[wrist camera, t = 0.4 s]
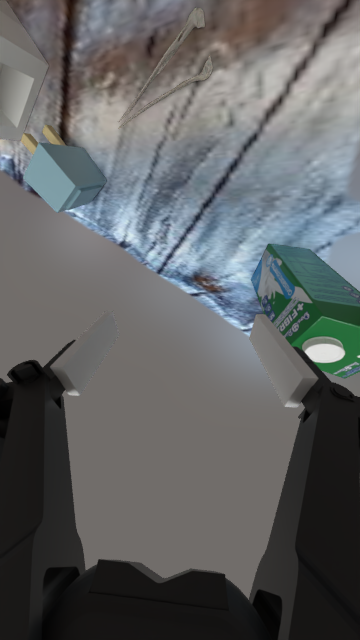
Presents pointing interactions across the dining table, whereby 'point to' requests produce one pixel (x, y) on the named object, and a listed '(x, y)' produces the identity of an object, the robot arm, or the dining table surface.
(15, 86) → the socket
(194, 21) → the tweezers
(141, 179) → the dining table surface
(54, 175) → the plug
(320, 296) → the milk carton
